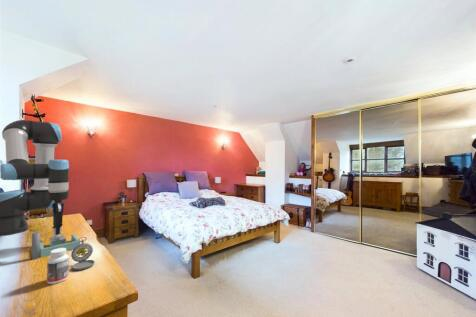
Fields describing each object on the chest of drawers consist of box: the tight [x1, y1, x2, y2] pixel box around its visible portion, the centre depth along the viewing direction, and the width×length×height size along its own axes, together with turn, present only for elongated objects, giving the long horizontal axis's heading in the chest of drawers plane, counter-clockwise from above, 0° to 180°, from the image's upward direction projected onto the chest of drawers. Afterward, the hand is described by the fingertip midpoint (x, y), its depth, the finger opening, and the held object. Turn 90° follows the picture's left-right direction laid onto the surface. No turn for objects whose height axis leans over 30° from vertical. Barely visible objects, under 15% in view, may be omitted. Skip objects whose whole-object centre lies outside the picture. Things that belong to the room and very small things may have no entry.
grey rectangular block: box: [49, 234, 67, 247], centre depth 96 cm, size 7×5×4 cm
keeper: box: [31, 230, 81, 260], centre depth 94 cm, size 15×16×10 cm
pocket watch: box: [70, 236, 95, 271], centre depth 78 cm, size 8×8×10 cm
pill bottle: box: [46, 248, 70, 285], centre depth 68 cm, size 5×5×10 cm
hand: (57, 240), depth 99 cm, fingers closed
